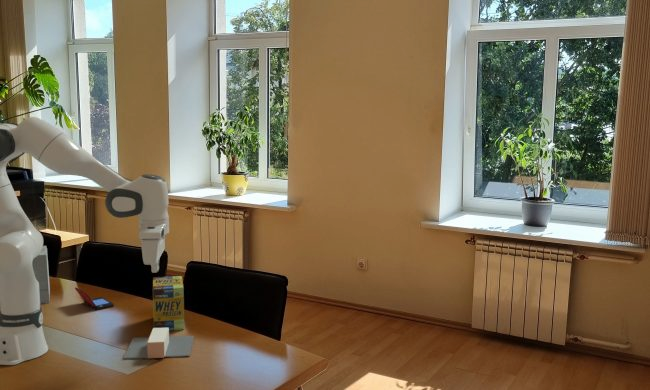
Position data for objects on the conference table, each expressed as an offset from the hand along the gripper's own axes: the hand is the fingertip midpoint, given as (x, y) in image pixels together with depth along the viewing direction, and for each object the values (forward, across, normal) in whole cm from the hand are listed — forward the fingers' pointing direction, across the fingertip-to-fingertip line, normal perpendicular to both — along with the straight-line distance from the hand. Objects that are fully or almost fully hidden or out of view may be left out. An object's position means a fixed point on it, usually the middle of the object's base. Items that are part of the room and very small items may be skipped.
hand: (155, 271), depth 184 cm
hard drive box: (+28, -60, -55) cm, 86 cm away
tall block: (+24, +4, 0) cm, 24 cm away
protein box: (+27, -27, 0) cm, 38 cm away
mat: (+27, -5, 0) cm, 27 cm away
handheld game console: (+28, -49, -31) cm, 64 cm away
